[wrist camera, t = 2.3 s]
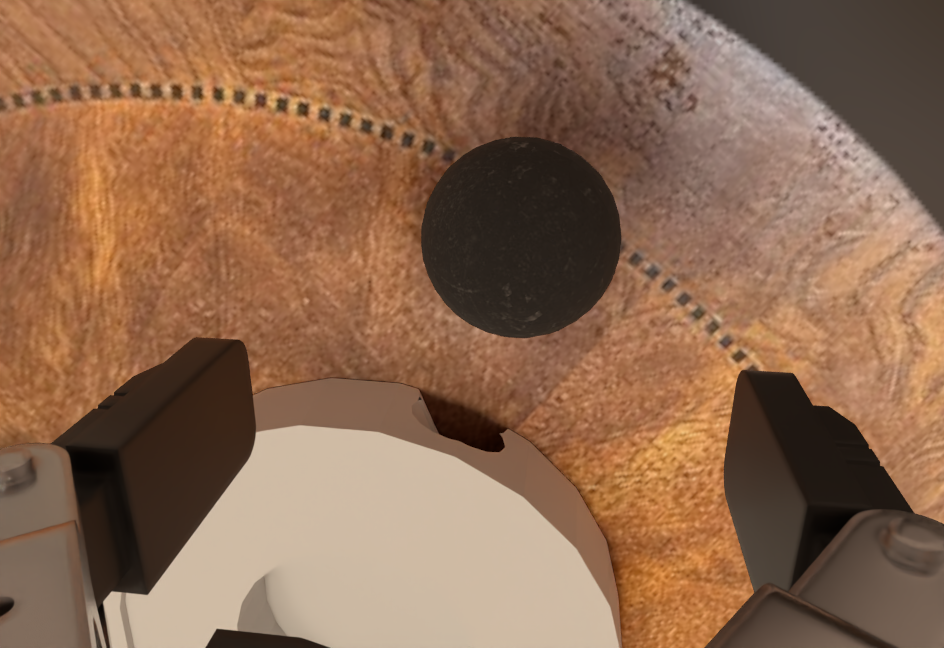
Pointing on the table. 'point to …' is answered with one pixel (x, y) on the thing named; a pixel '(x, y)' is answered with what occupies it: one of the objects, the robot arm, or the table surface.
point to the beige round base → (382, 538)
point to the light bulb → (521, 237)
